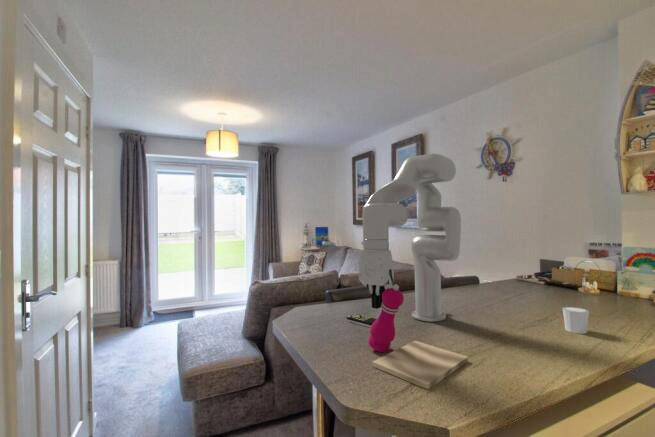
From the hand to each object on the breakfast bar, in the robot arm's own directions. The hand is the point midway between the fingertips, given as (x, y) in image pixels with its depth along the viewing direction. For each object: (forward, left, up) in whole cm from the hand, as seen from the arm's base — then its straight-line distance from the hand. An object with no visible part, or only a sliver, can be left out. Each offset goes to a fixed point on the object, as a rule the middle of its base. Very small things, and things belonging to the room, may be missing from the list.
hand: (377, 307), depth 93 cm
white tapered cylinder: (-57, +37, -12) cm, 69 cm away
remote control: (-15, -19, -13) cm, 27 cm away
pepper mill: (0, 0, -11) cm, 11 cm away
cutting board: (0, +14, -12) cm, 19 cm away
